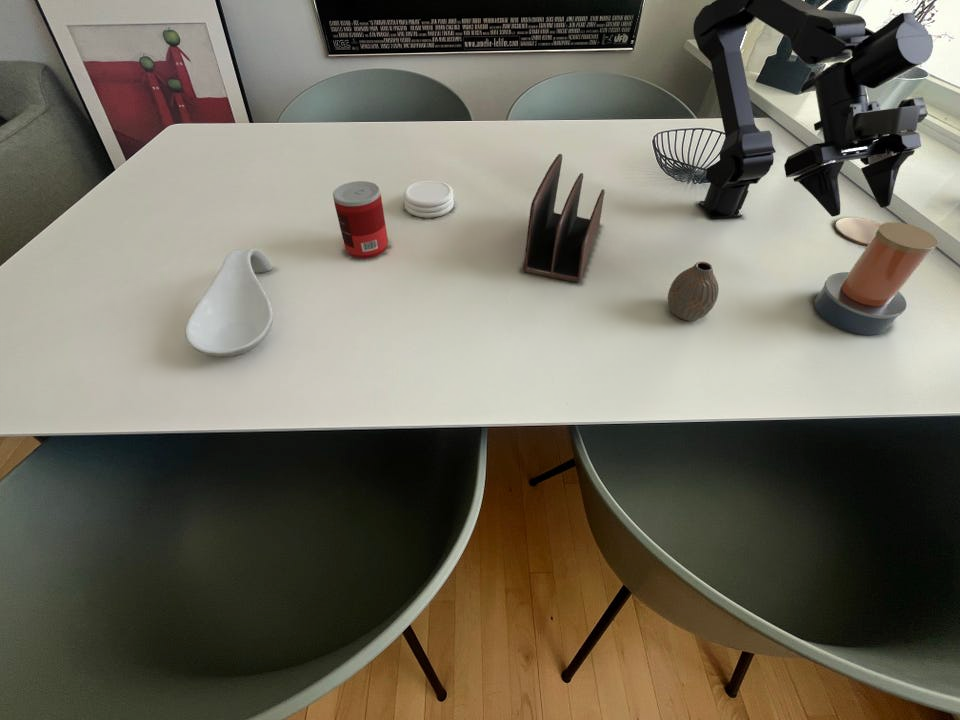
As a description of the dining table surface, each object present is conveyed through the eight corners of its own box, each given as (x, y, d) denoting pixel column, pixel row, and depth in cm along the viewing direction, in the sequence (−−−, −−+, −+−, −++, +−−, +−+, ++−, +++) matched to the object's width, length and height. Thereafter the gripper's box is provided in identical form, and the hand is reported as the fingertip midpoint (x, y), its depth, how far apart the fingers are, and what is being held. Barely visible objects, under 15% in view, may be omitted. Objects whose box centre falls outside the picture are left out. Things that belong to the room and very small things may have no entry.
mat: (856, 248, 89) (858, 246, 88) (824, 220, 96) (825, 218, 95) (906, 245, 89) (908, 243, 89) (870, 217, 96) (871, 216, 96)
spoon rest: (274, 364, 68) (257, 326, 63) (186, 373, 66) (162, 336, 61) (292, 267, 84) (280, 231, 79) (222, 273, 83) (205, 237, 78)
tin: (840, 338, 72) (855, 318, 69) (799, 294, 79) (811, 274, 76) (906, 333, 73) (924, 313, 70) (859, 289, 80) (874, 269, 77)
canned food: (396, 241, 90) (388, 185, 82) (372, 264, 85) (361, 206, 77) (362, 232, 92) (351, 177, 84) (337, 253, 87) (322, 197, 79)
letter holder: (522, 272, 83) (528, 196, 73) (549, 217, 96) (558, 146, 86) (579, 284, 81) (593, 207, 71) (599, 226, 94) (614, 153, 84)
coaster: (396, 213, 97) (394, 197, 95) (418, 191, 104) (417, 175, 101) (441, 223, 94) (440, 206, 92) (461, 200, 101) (460, 184, 98)
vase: (710, 329, 73) (733, 283, 67) (664, 323, 74) (681, 277, 68) (705, 301, 78) (725, 255, 71) (661, 296, 79) (677, 250, 72)
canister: (859, 308, 70) (902, 250, 63) (830, 280, 75) (867, 223, 68) (902, 305, 71) (950, 247, 64) (871, 277, 76) (912, 220, 68)
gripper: (844, 80, 61) (865, 202, 61) (955, 68, 65) (973, 183, 65) (773, 123, 72) (791, 226, 72) (872, 110, 75) (888, 208, 76)
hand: (861, 211), depth 71 cm, fingers open, 9 cm apart
